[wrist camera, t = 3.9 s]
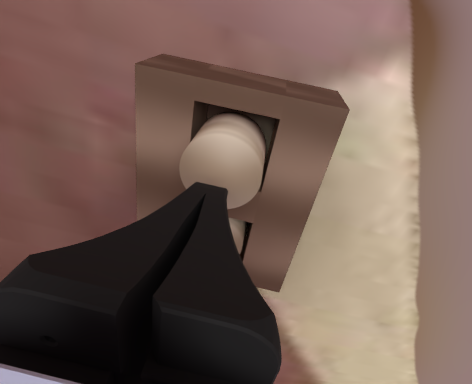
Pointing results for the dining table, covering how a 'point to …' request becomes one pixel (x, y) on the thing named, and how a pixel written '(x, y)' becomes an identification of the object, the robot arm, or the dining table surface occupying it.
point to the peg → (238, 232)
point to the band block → (278, 158)
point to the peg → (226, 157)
